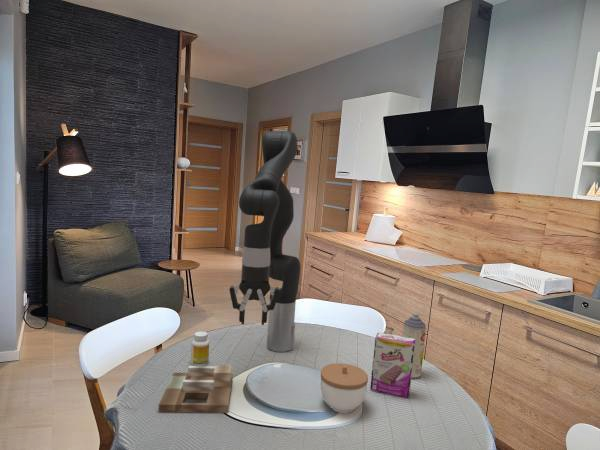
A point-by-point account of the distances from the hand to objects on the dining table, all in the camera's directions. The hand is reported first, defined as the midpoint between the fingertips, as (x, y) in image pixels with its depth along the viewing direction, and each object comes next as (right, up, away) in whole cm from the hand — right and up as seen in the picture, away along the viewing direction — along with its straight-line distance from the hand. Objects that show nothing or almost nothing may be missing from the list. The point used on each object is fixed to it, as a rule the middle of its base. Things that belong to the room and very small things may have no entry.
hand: (252, 323), depth 114 cm
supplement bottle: (-19, -17, +17) cm, 30 cm away
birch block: (-9, -17, +1) cm, 19 cm away
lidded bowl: (+24, -22, -3) cm, 33 cm away
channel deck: (-14, -19, -2) cm, 24 cm away
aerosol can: (+48, -21, +19) cm, 56 cm away
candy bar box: (+39, -22, +7) cm, 45 cm away
